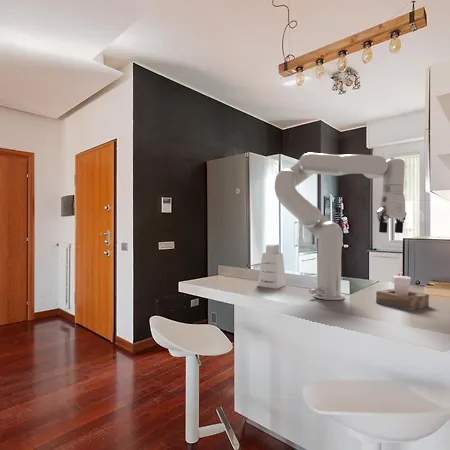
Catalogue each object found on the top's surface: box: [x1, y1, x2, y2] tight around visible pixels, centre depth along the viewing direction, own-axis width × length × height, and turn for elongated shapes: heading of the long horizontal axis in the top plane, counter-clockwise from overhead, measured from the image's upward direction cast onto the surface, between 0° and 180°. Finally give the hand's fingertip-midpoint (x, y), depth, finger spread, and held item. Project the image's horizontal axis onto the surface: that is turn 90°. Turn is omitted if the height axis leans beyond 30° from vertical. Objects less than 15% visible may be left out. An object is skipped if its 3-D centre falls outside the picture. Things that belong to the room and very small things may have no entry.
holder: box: [375, 288, 430, 312], centre depth 126 cm, size 13×13×4 cm
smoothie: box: [392, 265, 412, 296], centre depth 126 cm, size 6×6×14 cm
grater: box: [257, 244, 287, 289], centre depth 159 cm, size 10×10×20 cm
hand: (391, 232), depth 132 cm, fingers open, 9 cm apart
